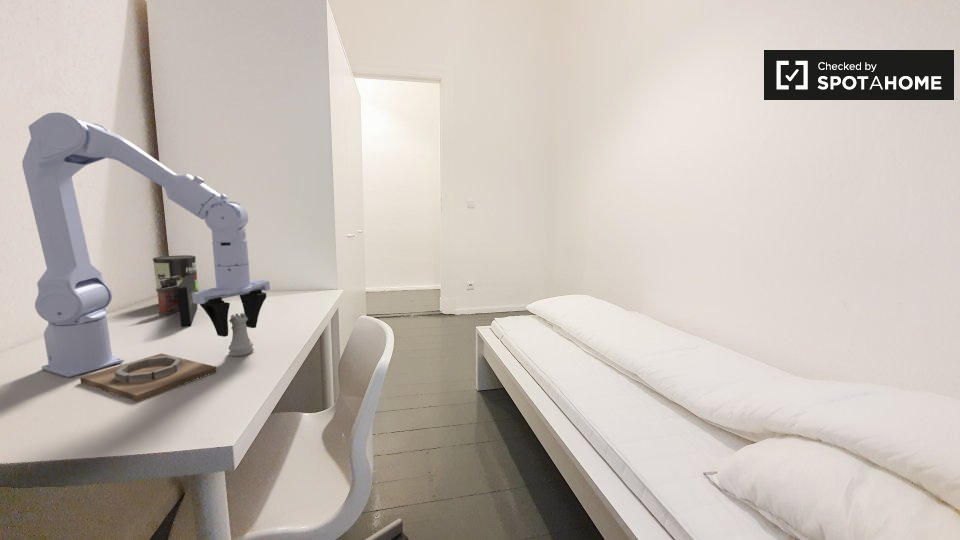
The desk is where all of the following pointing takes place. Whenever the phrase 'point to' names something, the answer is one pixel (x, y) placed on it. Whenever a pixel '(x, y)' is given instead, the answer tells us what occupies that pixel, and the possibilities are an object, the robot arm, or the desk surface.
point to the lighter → (168, 296)
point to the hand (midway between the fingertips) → (237, 331)
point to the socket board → (147, 376)
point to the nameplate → (187, 300)
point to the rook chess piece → (240, 337)
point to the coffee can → (175, 268)
